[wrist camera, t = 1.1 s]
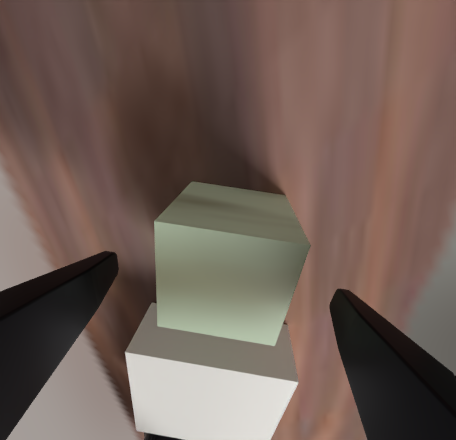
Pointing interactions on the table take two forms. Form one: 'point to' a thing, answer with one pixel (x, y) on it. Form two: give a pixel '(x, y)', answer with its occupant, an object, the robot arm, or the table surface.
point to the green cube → (227, 262)
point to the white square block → (208, 383)
